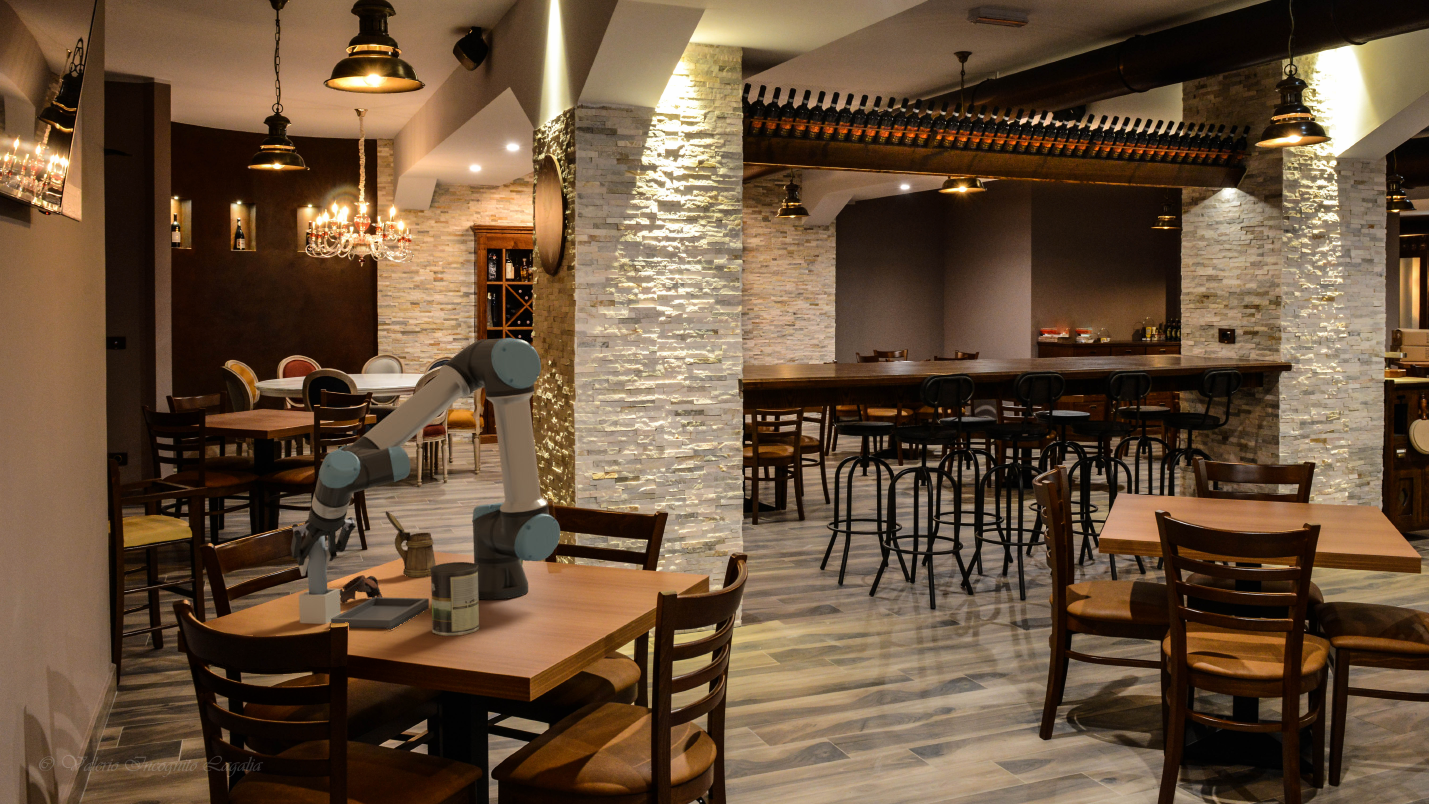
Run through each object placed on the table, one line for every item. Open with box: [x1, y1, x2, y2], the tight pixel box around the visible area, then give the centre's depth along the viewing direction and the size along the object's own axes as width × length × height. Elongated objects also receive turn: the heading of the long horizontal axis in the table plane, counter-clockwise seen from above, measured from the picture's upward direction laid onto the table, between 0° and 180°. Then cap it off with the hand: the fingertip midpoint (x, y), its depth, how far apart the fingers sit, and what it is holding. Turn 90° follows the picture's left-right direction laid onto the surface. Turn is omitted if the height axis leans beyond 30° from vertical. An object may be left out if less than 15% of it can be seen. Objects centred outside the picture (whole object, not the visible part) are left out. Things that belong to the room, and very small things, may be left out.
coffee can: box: [430, 561, 480, 637], centre depth 226 cm, size 10×10×14 cm
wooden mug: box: [385, 511, 437, 578], centre depth 284 cm, size 9×14×18 cm, turn 99°
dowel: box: [305, 530, 328, 595], centre depth 234 cm, size 4×4×18 cm
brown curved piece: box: [339, 574, 383, 604], centre depth 252 cm, size 12×10×8 cm
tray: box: [330, 596, 430, 630], centre depth 237 cm, size 14×20×2 cm
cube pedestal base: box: [298, 588, 341, 625], centre depth 235 cm, size 6×6×7 cm
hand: (312, 569), depth 237 cm, fingers closed on dowel, 4 cm apart
